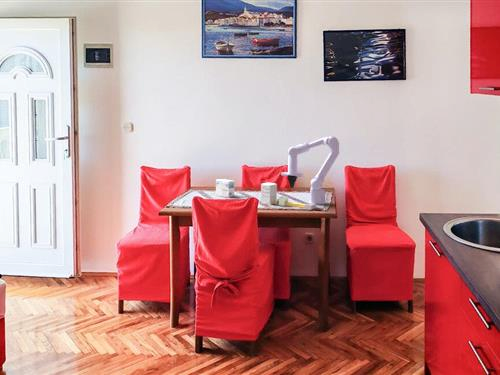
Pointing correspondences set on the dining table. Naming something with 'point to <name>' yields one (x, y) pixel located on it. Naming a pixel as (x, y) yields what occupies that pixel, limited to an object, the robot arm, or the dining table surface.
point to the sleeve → (283, 200)
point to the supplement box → (268, 193)
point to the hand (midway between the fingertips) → (291, 187)
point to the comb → (310, 206)
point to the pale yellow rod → (291, 204)
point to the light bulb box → (225, 188)
